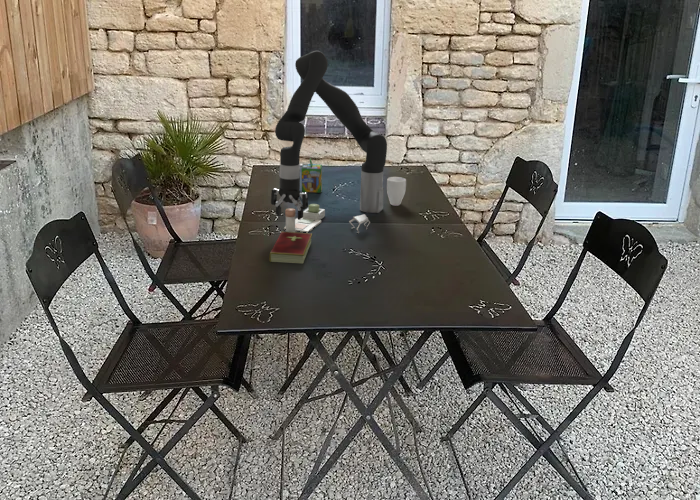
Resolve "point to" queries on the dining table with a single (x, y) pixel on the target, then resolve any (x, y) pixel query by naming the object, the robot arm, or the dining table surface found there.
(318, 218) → the button housing
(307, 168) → the chalk box
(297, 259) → the hardcover book
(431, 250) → the dining table surface
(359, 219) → the origami figure
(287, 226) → the marker
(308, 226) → the colouring board
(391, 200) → the mug
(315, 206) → the button
